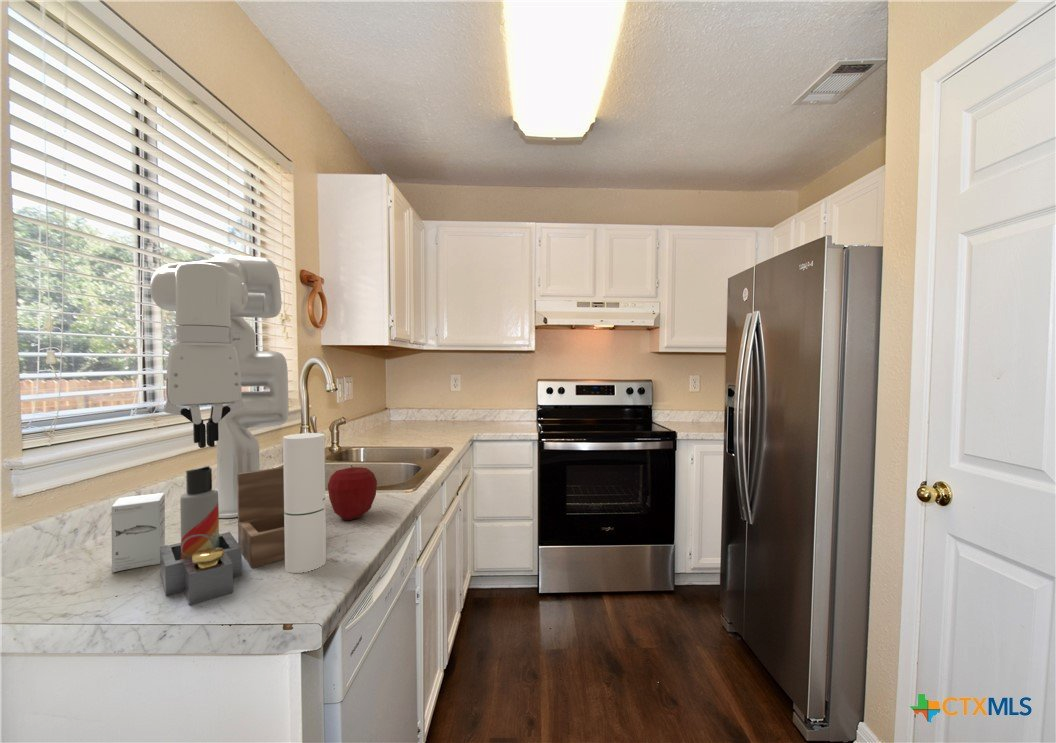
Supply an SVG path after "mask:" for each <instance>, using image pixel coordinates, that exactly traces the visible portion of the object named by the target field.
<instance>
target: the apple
mask: <svg viewBox="0 0 1056 743" xmlns="http://www.w3.org/2000/svg"><path fill="white" fill-rule="evenodd" d="M377 485H378V481H377V478H376V475H375V474H374V472H373V471H372V470H370V469H369V468H367V467H362V466H361V467H359V466H354V467H353V464H352V465H351V466H350V467H347V468H342V469H338V470H336V471H335V472H334V473H333V474H331V476H330V477H329V481H328V483H327V491H328V497H329V502H330V504H331V507H332V510H333V512H334V514H335V515H337V516H338V517H340V518H341V519H342V520H344V521H351V520H356V519H359V518H361V517H362V516H364V515H365V514H366V513H367V512H368V511H369V510H371V508H372V505H373V503H374V500H375V498H376V494H377V487H378V486H377Z"/></svg>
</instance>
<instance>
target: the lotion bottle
mask: <svg viewBox="0 0 1056 743" xmlns="http://www.w3.org/2000/svg"><path fill="white" fill-rule="evenodd" d="M185 472H186V473H185V476H186V477H185V480H186V483H185V486H186V490H185V491H186V492H185V493H183V494H181V495H180V497H179V498H180V500H179V503H180V504H179V505H180V508H179V509H180V510H179V511H180V514H179V515H180V543H181V559H185V558H190V557H192V555H193V554H194V553H196V552H198V551H200V550H204V549H208V548H215V547H219V534H220V527H219V526H220V522H219V521H220V518H219V507H218V489H213V470H212V466H209V465H208V466H207V465H205V466H200V467H196V468H194V469H189V470H186V471H185Z"/></svg>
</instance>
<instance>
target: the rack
mask: <svg viewBox="0 0 1056 743" xmlns="http://www.w3.org/2000/svg"><path fill="white" fill-rule="evenodd" d="M237 492H238V517H237V540H238V541H237V543H238V544H239V545H240V547H241V550H242V556H243V558H244V560H245V561H246V562H247V563H248V565H249V567H250V568H251V569H253V568H257V567H260V566H264V565H265V566H266V565H269V564H272V563H276V562H280V561H283V560H284V561H285V534H284V466H280V467H274V468H266V469H260V470H258V471H251V472H244V473H237Z"/></svg>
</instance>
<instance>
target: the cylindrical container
mask: <svg viewBox="0 0 1056 743" xmlns="http://www.w3.org/2000/svg"><path fill="white" fill-rule="evenodd" d="M325 445H326V444H325V433H322V432H321V433H319V432H305V433H304V432H303V433H294V434H288V435H284V436H283V437H282V447H283V448H282V449H283V450H282V455H283V457H282V458H283V460H282V461H283V462H282V463H283V466H282V467H284V534H285V559H284V570H285V571H286V572H287V573H290V572H291V574H302V573H303V572H304V573H309V572H312V571H311V570H313V571H315V570H314V569H316V570H318V569H320V568H322V567H323V566H324V565H326V563H327V538H326V537H327V533H326V530H327V529H326V528H327V526H326V525H327V524H326V521H327V519H326V466H325V465H326V456H325V451H326V450H325ZM322 565H323V566H322ZM321 566H322V567H321ZM319 567H320V568H319ZM317 568H318V569H317ZM308 571H309V572H308ZM304 573H303V574H304Z"/></svg>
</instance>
